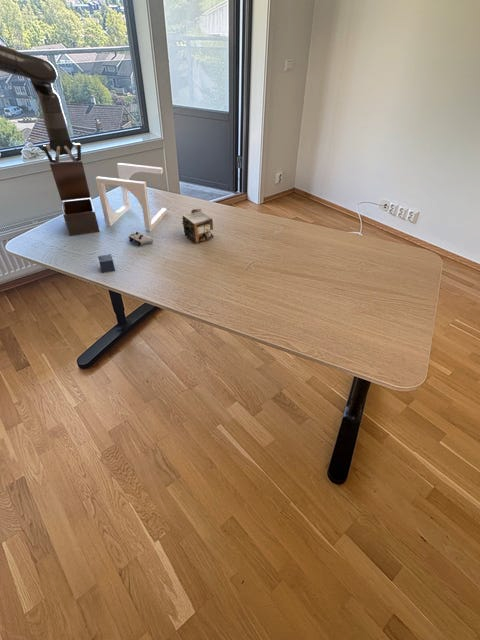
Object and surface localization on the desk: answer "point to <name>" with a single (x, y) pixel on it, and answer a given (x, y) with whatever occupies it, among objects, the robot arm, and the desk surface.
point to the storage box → (80, 216)
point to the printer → (197, 225)
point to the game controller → (140, 238)
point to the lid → (70, 180)
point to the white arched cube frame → (128, 185)
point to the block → (106, 263)
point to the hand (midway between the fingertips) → (68, 172)
